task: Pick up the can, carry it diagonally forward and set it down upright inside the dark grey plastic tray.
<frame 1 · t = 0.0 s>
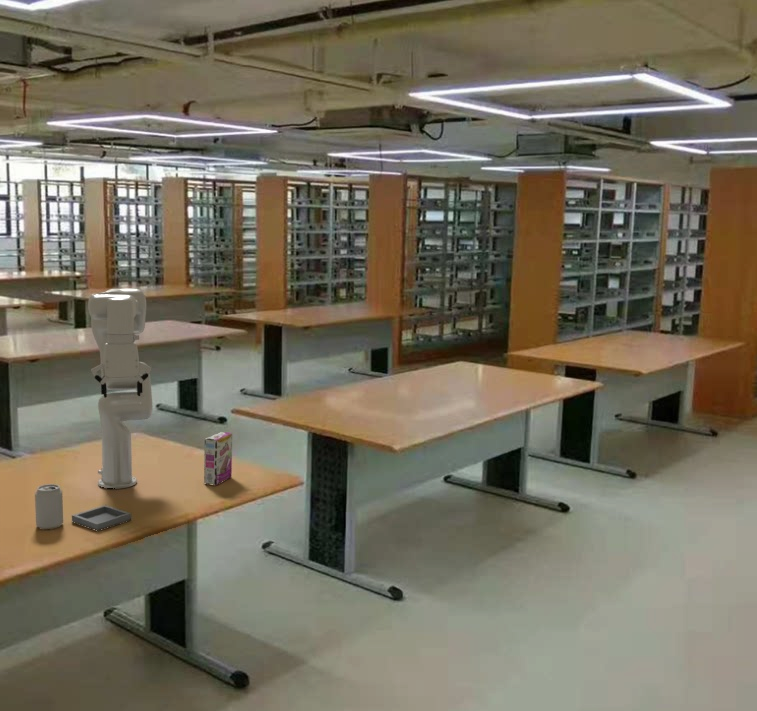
hand: (122, 396, 249), 37 cm above the table, tool pointing down, fingers open, 9 cm apart
can: (49, 526, 244), on the table
tray: (101, 521, 249), on the table
candy bar box: (218, 481, 291), on the table
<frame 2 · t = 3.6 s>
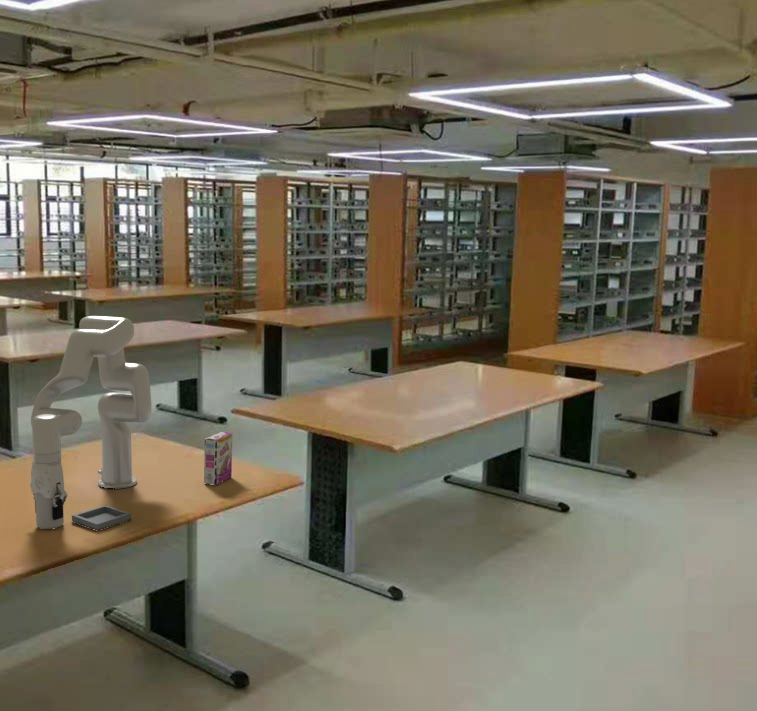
hand: (49, 515, 243), 3 cm above the table, tool pointing down, fingers closed on can, 7 cm apart
can: (50, 526, 244), on the table, touching gripper
everything else where it was.
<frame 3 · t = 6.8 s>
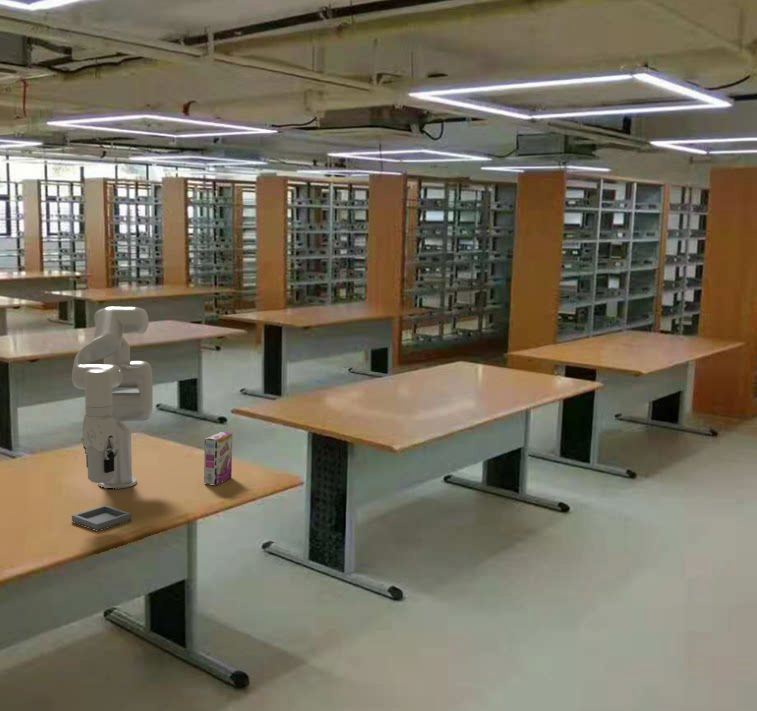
hand: (100, 468, 247), 16 cm above the table, tool pointing down, fingers closed on can, 7 cm apart
can: (101, 480, 247), point 13 cm above the table, touching gripper
everything else where it was.
when the fingers open (5 cm above the table, at t = 9.7 s): can stays where it is, resting on tray.
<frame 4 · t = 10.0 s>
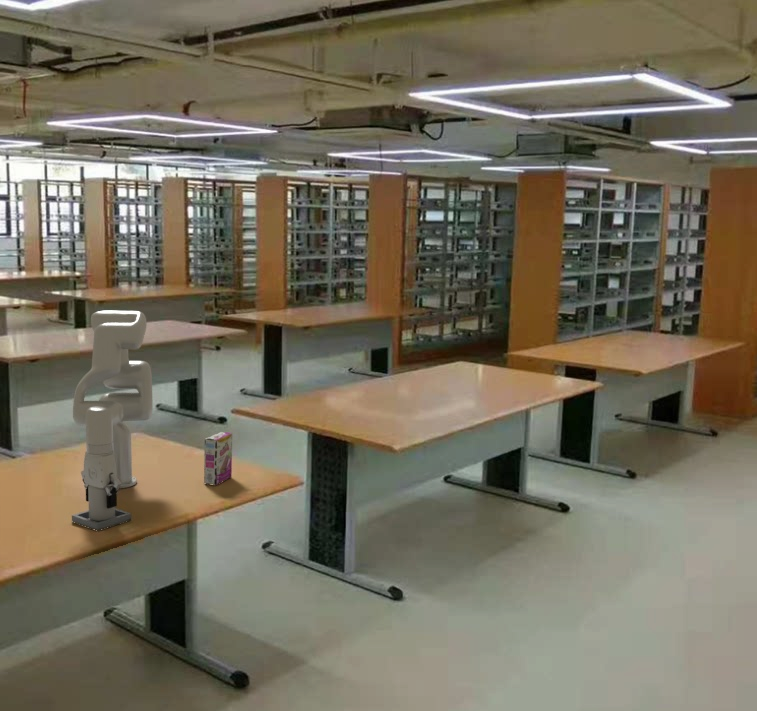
hand: (101, 503, 248), 6 cm above the table, tool pointing down, fingers open, 9 cm apart
can: (102, 519, 250), resting on tray
everything else where it was.
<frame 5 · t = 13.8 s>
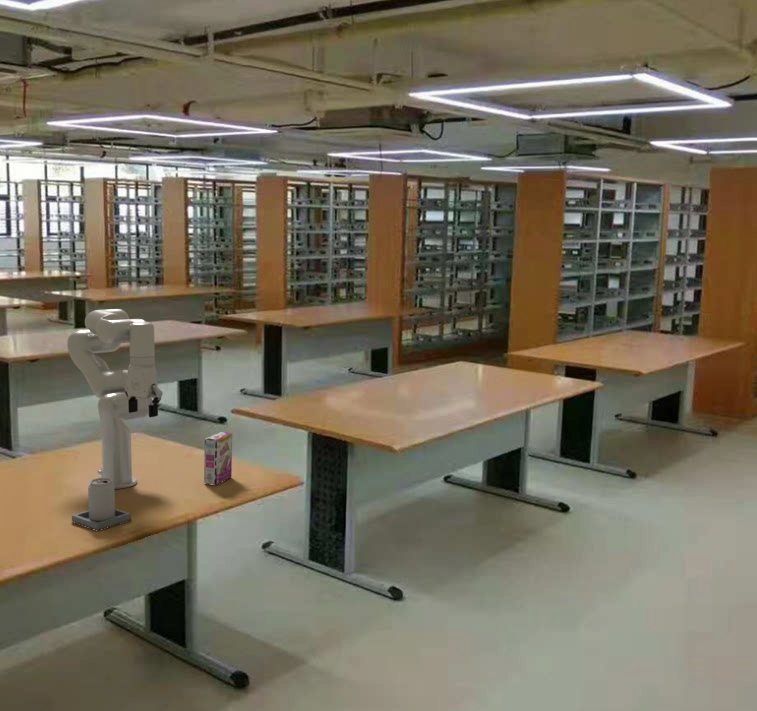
hand: (143, 414, 265), 28 cm above the table, tool pointing down, fingers open, 9 cm apart
nothing on the table moved.
at the end: can inside the target area on the tray (0.4 cm from its centre), point 0.4 cm above the tray's base; can tilted 0°; the gripper is holding nothing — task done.
